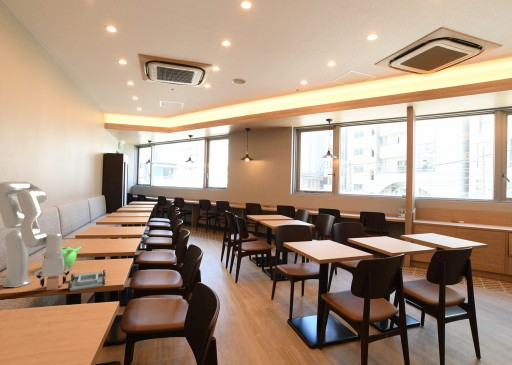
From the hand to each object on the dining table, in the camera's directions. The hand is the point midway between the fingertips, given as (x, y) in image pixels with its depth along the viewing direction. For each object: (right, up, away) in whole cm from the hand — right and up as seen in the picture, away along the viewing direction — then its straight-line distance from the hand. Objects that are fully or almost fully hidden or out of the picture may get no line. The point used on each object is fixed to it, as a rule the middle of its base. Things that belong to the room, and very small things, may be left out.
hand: (53, 284), depth 155 cm
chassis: (+15, -2, +8) cm, 17 cm away
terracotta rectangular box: (0, -2, 0) cm, 2 cm away
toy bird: (-19, -1, +34) cm, 39 cm away
